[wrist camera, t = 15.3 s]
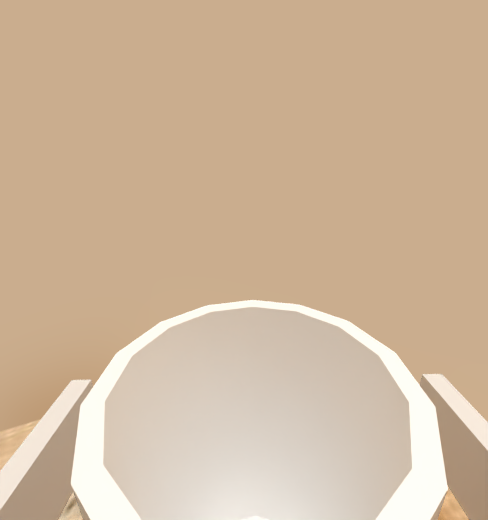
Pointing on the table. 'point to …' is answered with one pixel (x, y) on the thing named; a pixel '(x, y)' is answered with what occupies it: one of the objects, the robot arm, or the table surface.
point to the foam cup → (257, 423)
